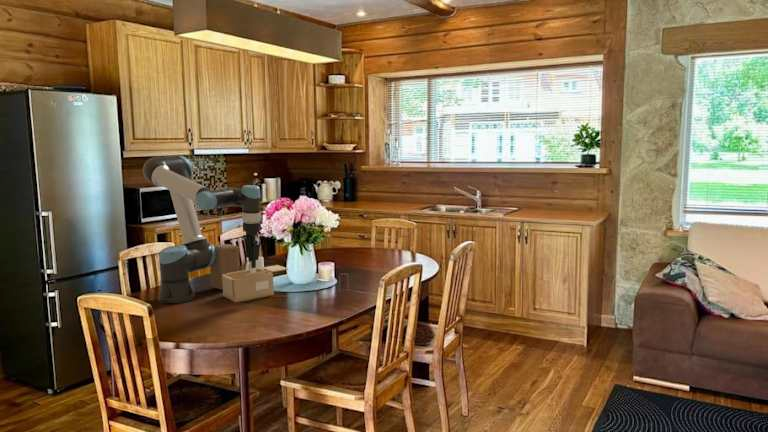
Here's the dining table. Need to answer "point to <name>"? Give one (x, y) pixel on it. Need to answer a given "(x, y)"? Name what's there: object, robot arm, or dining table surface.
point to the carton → (247, 286)
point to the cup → (258, 263)
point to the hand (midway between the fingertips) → (252, 274)
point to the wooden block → (224, 263)
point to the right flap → (275, 268)
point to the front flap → (254, 274)
